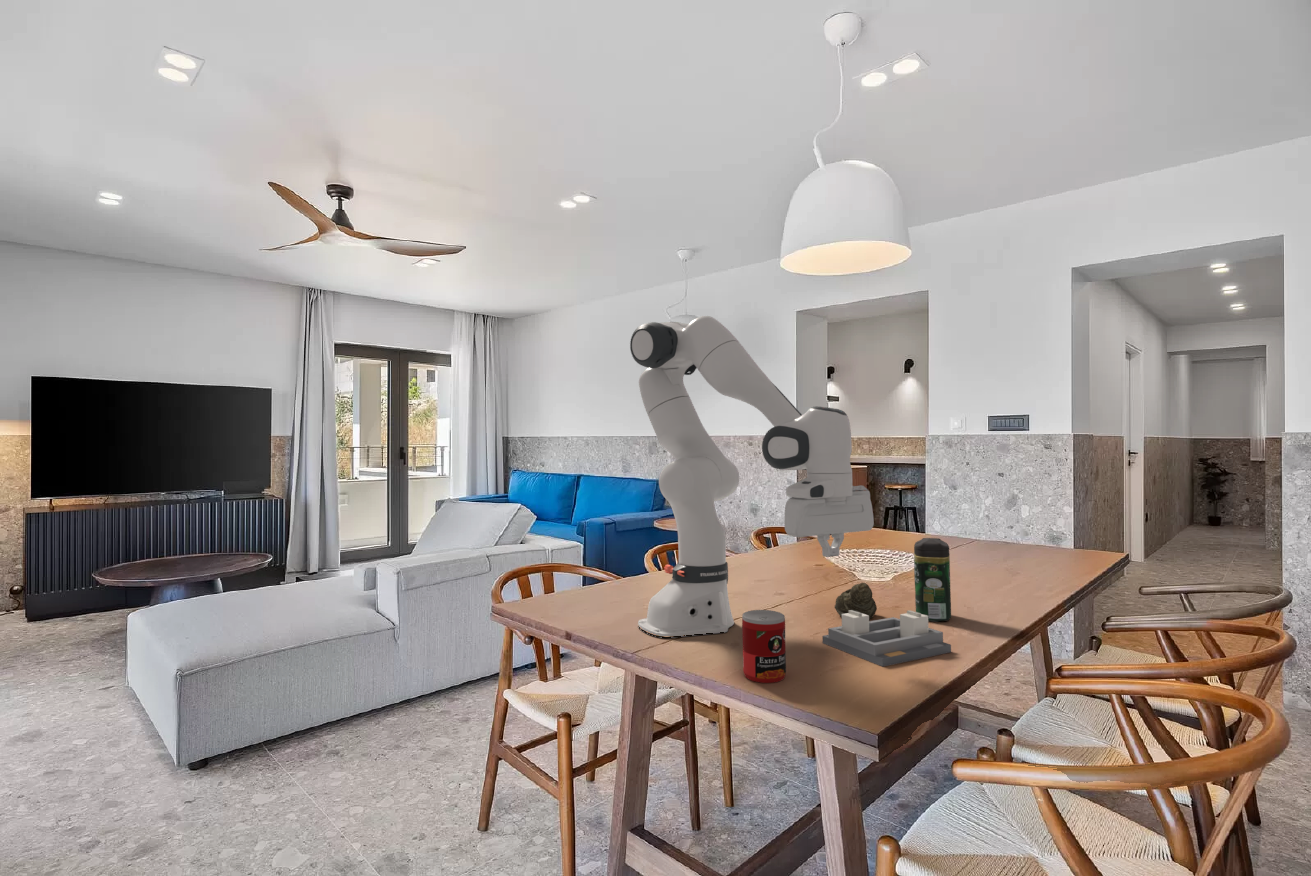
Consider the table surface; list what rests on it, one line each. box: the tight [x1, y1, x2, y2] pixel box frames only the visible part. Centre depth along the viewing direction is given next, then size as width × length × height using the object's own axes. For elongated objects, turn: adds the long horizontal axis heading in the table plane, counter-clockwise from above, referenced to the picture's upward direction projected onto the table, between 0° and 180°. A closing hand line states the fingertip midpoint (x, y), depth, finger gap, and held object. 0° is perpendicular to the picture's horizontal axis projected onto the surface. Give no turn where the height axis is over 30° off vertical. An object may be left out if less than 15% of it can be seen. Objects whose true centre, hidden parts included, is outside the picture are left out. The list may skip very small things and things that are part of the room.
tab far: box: [841, 610, 870, 635], centre depth 137 cm, size 4×4×6 cm
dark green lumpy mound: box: [834, 582, 878, 619], centre depth 162 cm, size 11×12×10 cm
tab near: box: [899, 610, 929, 638], centre depth 136 cm, size 4×4×6 cm
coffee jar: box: [913, 537, 952, 623], centre depth 159 cm, size 10×8×19 cm
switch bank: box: [821, 616, 952, 667], centre depth 137 cm, size 18×17×4 cm
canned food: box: [741, 609, 787, 684], centre depth 122 cm, size 8×8×11 cm
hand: (830, 556), depth 135 cm, fingers closed
